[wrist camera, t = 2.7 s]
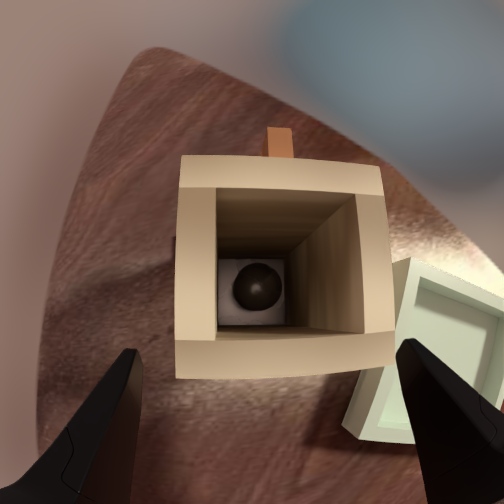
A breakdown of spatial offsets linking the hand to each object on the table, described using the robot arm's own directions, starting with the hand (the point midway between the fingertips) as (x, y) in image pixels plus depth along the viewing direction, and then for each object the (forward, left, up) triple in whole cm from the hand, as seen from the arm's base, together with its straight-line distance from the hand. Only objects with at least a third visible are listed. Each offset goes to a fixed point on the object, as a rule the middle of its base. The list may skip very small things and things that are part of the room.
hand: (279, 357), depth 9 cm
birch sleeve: (+3, +1, -9) cm, 9 cm away
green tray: (+2, -15, -10) cm, 18 cm away
